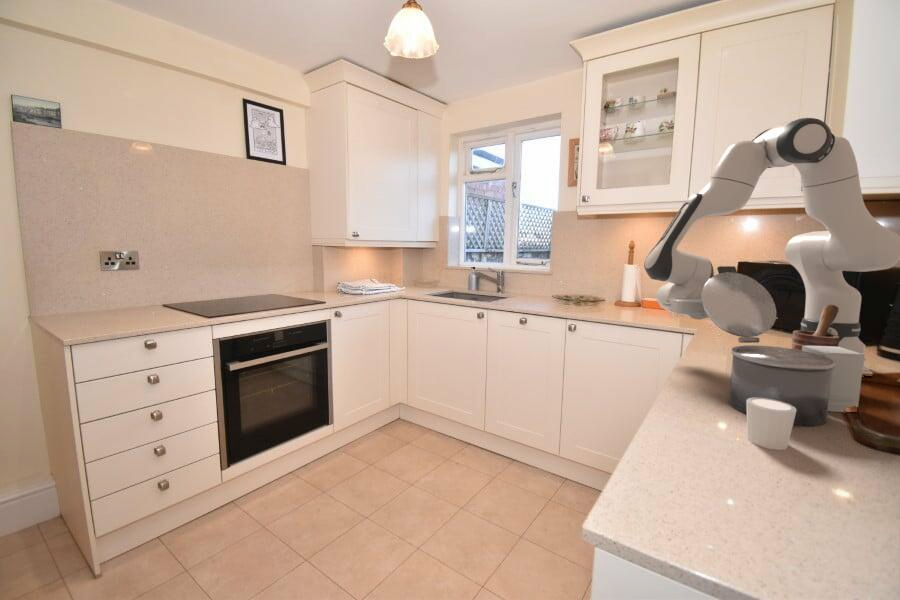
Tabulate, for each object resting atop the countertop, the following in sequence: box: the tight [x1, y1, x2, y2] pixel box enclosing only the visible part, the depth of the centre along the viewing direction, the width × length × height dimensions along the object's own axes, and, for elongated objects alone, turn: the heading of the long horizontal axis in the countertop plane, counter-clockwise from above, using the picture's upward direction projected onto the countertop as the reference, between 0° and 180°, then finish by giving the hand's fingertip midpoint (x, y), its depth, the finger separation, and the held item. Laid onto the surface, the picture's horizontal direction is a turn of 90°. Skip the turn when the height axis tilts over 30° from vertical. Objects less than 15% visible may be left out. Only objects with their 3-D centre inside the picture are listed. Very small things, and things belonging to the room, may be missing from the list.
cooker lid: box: [701, 265, 777, 344], centre depth 96 cm, size 20×17×2 cm
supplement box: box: [802, 346, 865, 413], centre depth 87 cm, size 7×7×13 cm
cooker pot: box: [728, 344, 835, 428], centre depth 84 cm, size 17×17×12 cm
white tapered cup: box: [746, 398, 796, 451], centre depth 70 cm, size 7×7×7 cm
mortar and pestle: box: [791, 305, 839, 351], centre depth 101 cm, size 12×9×20 cm
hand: (731, 310), depth 98 cm, fingers closed
